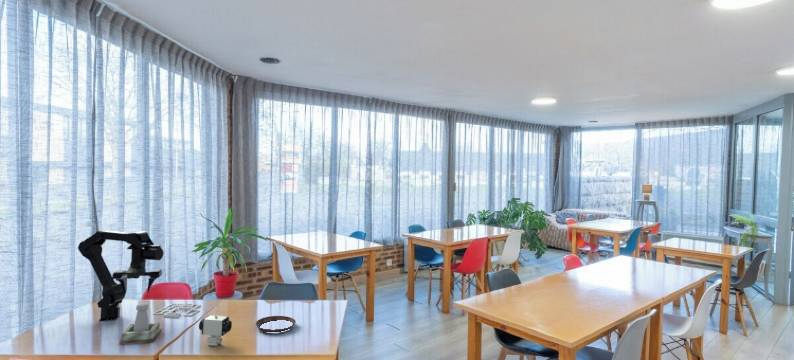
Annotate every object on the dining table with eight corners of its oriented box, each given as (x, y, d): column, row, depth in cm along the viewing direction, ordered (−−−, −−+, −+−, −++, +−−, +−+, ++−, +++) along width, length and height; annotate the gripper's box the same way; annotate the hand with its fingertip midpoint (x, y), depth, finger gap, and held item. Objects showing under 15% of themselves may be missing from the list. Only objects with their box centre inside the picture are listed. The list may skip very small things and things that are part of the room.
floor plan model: (199, 320, 192) (199, 316, 192) (148, 317, 194) (148, 313, 194) (218, 308, 211) (218, 304, 211) (172, 305, 213) (172, 301, 213)
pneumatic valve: (225, 347, 163) (227, 318, 163) (197, 345, 163) (199, 316, 163) (232, 342, 168) (233, 313, 168) (204, 340, 169) (206, 311, 169)
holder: (119, 344, 161) (119, 334, 161) (129, 333, 173) (129, 323, 173) (153, 341, 165) (153, 332, 165) (160, 331, 176) (161, 322, 177)
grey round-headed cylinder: (142, 331, 173) (144, 300, 173) (152, 333, 171) (153, 302, 171) (129, 335, 167) (131, 304, 168) (139, 338, 165) (140, 306, 165)
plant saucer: (302, 329, 187) (303, 322, 187) (267, 339, 174) (268, 332, 174) (282, 319, 199) (282, 313, 199) (248, 327, 186) (248, 321, 186)
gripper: (108, 262, 177) (106, 298, 177) (156, 262, 183) (155, 296, 183) (117, 258, 188) (116, 291, 188) (162, 257, 193) (161, 290, 193)
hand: (137, 292), depth 188 cm, fingers open, 9 cm apart
